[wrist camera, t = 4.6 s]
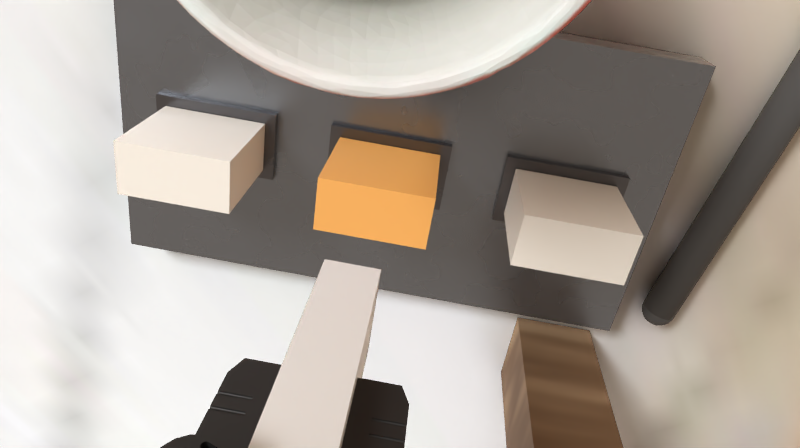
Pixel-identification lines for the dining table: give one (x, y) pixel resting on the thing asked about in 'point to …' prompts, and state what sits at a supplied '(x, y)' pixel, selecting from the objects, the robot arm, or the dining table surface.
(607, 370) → the dining table surface
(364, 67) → the mug
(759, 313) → the dining table surface
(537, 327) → the post
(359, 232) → the block
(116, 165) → the paddle
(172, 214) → the switch plate
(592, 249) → the cream rectangular box
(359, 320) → the robot arm
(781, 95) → the dark grey rod
